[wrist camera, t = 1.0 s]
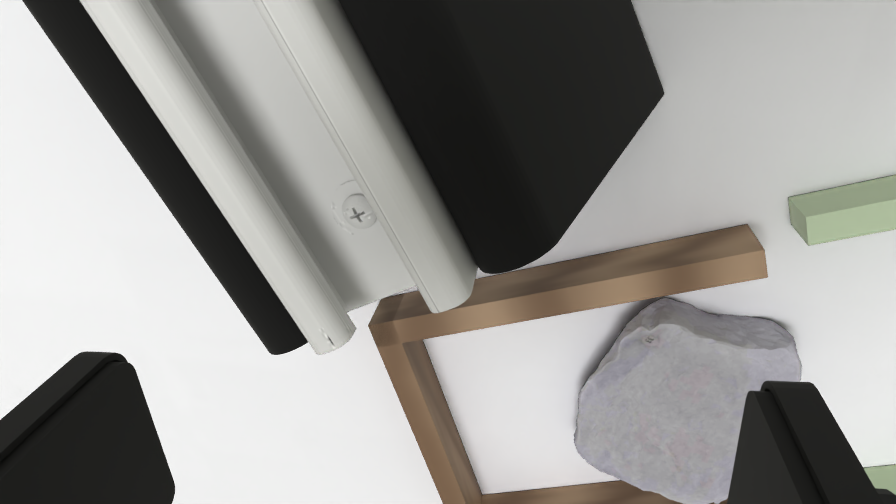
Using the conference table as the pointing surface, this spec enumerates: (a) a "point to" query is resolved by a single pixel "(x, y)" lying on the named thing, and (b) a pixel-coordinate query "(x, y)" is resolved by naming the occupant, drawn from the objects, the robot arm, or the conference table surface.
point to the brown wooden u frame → (532, 298)
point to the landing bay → (843, 218)
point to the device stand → (362, 136)
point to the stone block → (679, 398)
